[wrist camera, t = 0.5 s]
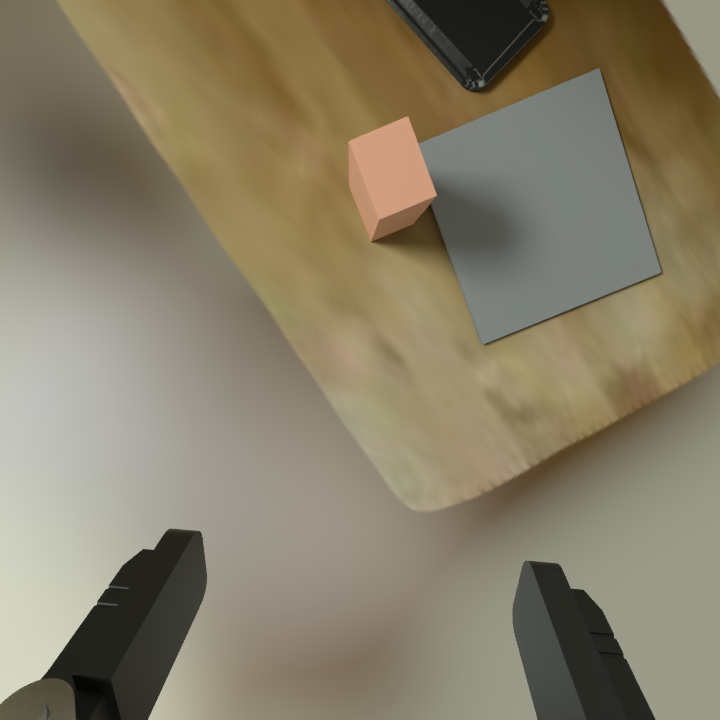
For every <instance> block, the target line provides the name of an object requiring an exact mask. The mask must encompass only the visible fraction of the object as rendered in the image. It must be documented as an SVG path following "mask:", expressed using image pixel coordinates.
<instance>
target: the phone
mask: <svg viewBox="0 0 720 720" xmlns="http://www.w3.org/2000/svg"><path fill="white" fill-rule="evenodd" d="M386 1H387V2H388V3H389V4H390V5H391V6H392V8H393V9H394V10H395V11H396V12H397V13H398V14H399V15H400V17H401V18H402V19H403V20H404V21H405V22H406V23H407V24H408V26H409V27H410V28H411V29H412V30H413V31H414V32H415V33H416V35H417V36H418V37H419V38H420V39H421V40H422V41H423V42H424V44H425V45H426V46H427V47H428V48H429V49H430V50H431V51H432V53H433V54H434V55H435V56H436V57H437V58H438V59H439V60H440V62H441V63H442V64H443V65H444V66H445V67H446V68H447V69H448V71H449V72H450V73H451V74H452V75H453V76H454V77H455V78H456V80H457V81H458V82H459V83H460V84H461V85H462V86H463V87H464V88H465V89H466V90H468V91H471V92H477V91H480V90H482V89H483V88H484V87H486V86H487V85H488V83H489V82H490V81H491V80H492V79H493V78H494V77H495V76H496V75H497V74H498V73H499V72H500V71H501V70H502V69H503V68H504V67H505V66H506V65H507V64H508V63H509V62H510V61H511V60H512V59H513V58H514V57H515V56H516V55H517V54H518V53H519V52H520V51H521V49H522V48H523V47H524V46H525V45H526V44H527V43H528V42H529V41H530V40H531V39H532V38H533V37H534V36H535V35H536V34H537V33H538V32H539V31H540V29H541V28H542V26H543V25H544V24H545V22H546V21H547V18H548V6H547V4H546V2H545V0H386Z"/></svg>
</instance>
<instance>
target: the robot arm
mask: <svg viewBox="0 0 720 720" xmlns="http://www.w3.org/2000/svg"><path fill="white" fill-rule="evenodd" d="M206 583H207V572H206V564H205V555H204V547H203V538H202V534H201V532H200V531H191V530H180V529H169V530H167V531H166V532H165V534H164V535H163V537H162V538H161V540H160V541H159V543H158V544H157V546H156V547H155V549H154V550H147V549H143V550H142V551H140V552H139V553H138V554H137V555H135V556H134V557H133V558H132V559H130V560H129V561H128V562H127V563H125V564H124V565H123V566H122V568H121V569H120V570H119V572H118V573H117V575H116V576H115V577H114V579H113V580H112V582H111V583H110V585H109V588H108V589H106V590H105V591H104V593H103V594H102V596H101V597H100V599H99V600H98V602H97V605H96V606H94V607H93V608H92V610H91V611H90V613H89V614H88V615H87V617H86V618H85V620H84V621H83V623H82V624H81V625H80V627H79V628H78V630H77V631H76V632H75V634H74V635H73V636H72V638H71V639H70V641H69V642H68V644H67V645H66V646H65V648H64V650H63V651H62V652H61V653H60V655H59V656H58V658H57V659H56V660H55V662H54V663H53V665H52V666H51V667H50V669H49V670H48V672H47V673H46V674H45V675H44V676H43V678H42V679H41V680H39V681H36V682H33V683H30V684H28V685H26V686H24V687H22V688H21V689H19V690H18V691H16V692H14V693H13V694H12V695H11V696H9V697H8V698H7V699H5V700H4V701H3V702H2V703H1V704H0V720H148V718H149V716H150V714H151V711H152V709H153V707H154V705H155V703H156V701H157V699H158V696H159V694H160V692H161V690H162V687H163V685H164V683H165V681H166V679H167V677H168V675H169V672H170V670H171V668H172V666H173V664H174V662H175V659H176V657H177V655H178V653H179V651H180V649H181V646H182V644H183V642H184V640H185V638H186V635H187V633H188V631H189V629H190V627H191V624H192V622H193V620H194V618H195V616H196V614H197V612H198V609H199V607H200V605H201V603H202V600H203V597H204V593H205V589H206ZM513 627H514V633H515V637H516V641H517V644H518V648H519V652H520V655H521V659H522V663H523V667H524V670H525V674H526V678H527V682H528V685H529V689H530V693H531V696H532V700H533V704H534V708H535V711H536V715H537V719H538V720H655V718H654V716H653V714H652V711H651V709H650V707H649V705H648V703H647V701H646V699H645V697H644V695H643V693H642V691H641V689H640V687H639V685H638V683H637V681H636V679H635V677H634V675H633V672H632V670H631V668H630V666H629V664H628V662H627V660H626V659H624V657H623V652H622V650H621V648H620V646H619V644H618V642H617V640H616V639H614V634H613V632H612V630H611V627H610V626H609V623H608V622H607V619H606V617H605V615H604V613H603V611H602V610H601V609H600V608H599V606H598V605H597V604H596V603H595V602H594V601H593V600H592V599H591V598H590V597H589V595H588V594H587V593H586V592H585V591H584V590H579V589H571V588H570V586H569V584H568V581H567V579H566V577H565V574H564V572H563V570H562V568H561V566H560V565H559V564H557V563H546V562H535V561H525V562H524V563H523V566H522V570H521V574H520V578H519V583H518V587H517V591H516V595H515V599H514V604H513Z"/></svg>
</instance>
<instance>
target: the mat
mask: <svg viewBox="0 0 720 720" xmlns="http://www.w3.org/2000/svg"><path fill="white" fill-rule="evenodd" d="M418 145H419V148H420V151H421V153H422V156H423V159H424V161H425V164H426V167H427V170H428V172H429V175H430V178H431V181H432V183H433V186H434V189H435V191H436V194H437V196H436V197H435V199H434V200H433V201H432V202H431V203H430V206H431V209H432V211H433V214H434V217H435V219H436V222H437V225H438V228H439V230H440V233H441V236H442V238H443V241H444V244H445V247H446V249H447V252H448V255H449V257H450V260H451V263H452V265H453V268H454V271H455V274H456V276H457V279H458V282H459V284H460V287H461V290H462V293H463V295H464V298H465V301H466V303H467V306H468V309H469V311H470V314H471V317H472V320H473V322H474V325H475V328H476V330H477V333H478V336H479V339H480V341H481V344H486V343H488V342H491V341H493V340H495V339H498V338H500V337H503V336H505V335H508V334H510V333H513V332H515V331H518V330H520V329H523V328H525V327H528V326H530V325H533V324H535V323H538V322H540V321H543V320H545V319H547V318H550V317H552V316H555V315H557V314H560V313H562V312H565V311H567V310H570V309H572V308H575V307H577V306H580V305H582V304H585V303H587V302H590V301H592V300H594V299H597V298H599V297H602V296H604V295H607V294H609V293H612V292H614V291H617V290H619V289H622V288H624V287H627V286H629V285H632V284H634V283H637V282H639V281H642V280H644V279H646V278H649V277H651V276H654V275H656V274H659V273H661V269H660V266H659V263H658V259H657V256H656V253H655V250H654V246H653V243H652V240H651V236H650V233H649V230H648V227H647V223H646V220H645V217H644V213H643V210H642V207H641V204H640V200H639V197H638V194H637V190H636V187H635V184H634V180H633V177H632V174H631V171H630V167H629V164H628V161H627V157H626V154H625V151H624V148H623V144H622V141H621V138H620V134H619V131H618V128H617V125H616V121H615V118H614V115H613V111H612V108H611V105H610V102H609V98H608V95H607V92H606V88H605V85H604V82H603V79H602V75H601V72H600V69H599V68H598V69H595V70H593V71H591V72H588V73H586V74H583V75H581V76H579V77H576V78H574V79H572V80H569V81H567V82H564V83H562V84H560V85H557V86H555V87H553V88H550V89H548V90H545V91H543V92H541V93H538V94H536V95H534V96H531V97H529V98H526V99H524V100H522V101H519V102H517V103H514V104H512V105H510V106H507V107H505V108H503V109H500V110H498V111H495V112H493V113H491V114H488V115H486V116H484V117H481V118H479V119H476V120H474V121H472V122H469V123H467V124H465V125H462V126H460V127H457V128H455V129H453V130H450V131H448V132H446V133H443V134H441V135H438V136H436V137H434V138H431V139H429V140H427V141H424V142H422V143H419V144H418Z"/></svg>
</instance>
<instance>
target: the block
mask: <svg viewBox="0 0 720 720" xmlns="http://www.w3.org/2000/svg"><path fill="white" fill-rule="evenodd" d="M349 187H350V189H351V192H352V195H353V197H354V200H355V202H356V205H357V207H358V210H359V212H360V215H361V217H362V220H363V223H364V225H365V228H366V230H367V233H368V235H369V238H370V240H371V242H372V241H375V240H377V239H379V238H382V237H384V236H387V235H389V234H392V233H394V232H396V231H399V230H401V229H404V228H406V227H408V226H411V225H413V224H414V223H415V222H416V220H417V219H418V218H419V217H420V216H421V214H422V213H423V212H424V211H425V210H426V208H427V207H428V206H429V205H430V203H431V202H432V201H433V200H434V199H435V197H436V196H437V194H436V191H435V189H434V186H433V183H432V181H431V178H430V175H429V172H428V170H427V167H426V164H425V161H424V159H423V156H422V153H421V151H420V148H419V145H418V142H417V140H416V137H415V134H414V131H413V129H412V126H411V123H410V120H409V118H408V116H407V117H405V118H402V119H400V120H398V121H395V122H393V123H391V124H388V125H386V126H384V127H381V128H379V129H376V130H374V131H372V132H369V133H367V134H365V135H362V136H360V137H358V138H355V139H353V140H350V141H349Z"/></svg>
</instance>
